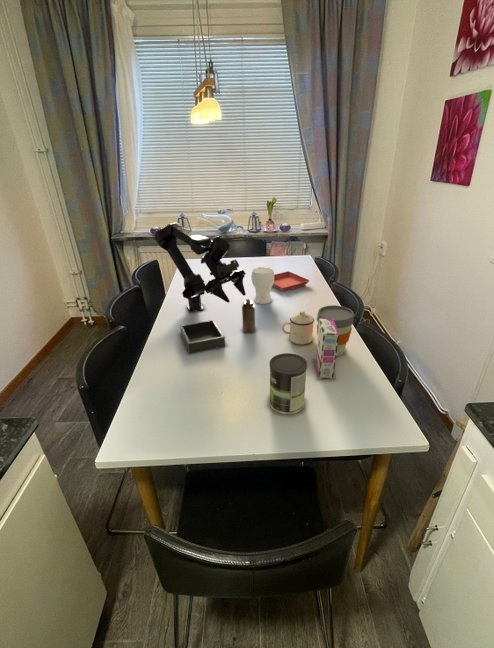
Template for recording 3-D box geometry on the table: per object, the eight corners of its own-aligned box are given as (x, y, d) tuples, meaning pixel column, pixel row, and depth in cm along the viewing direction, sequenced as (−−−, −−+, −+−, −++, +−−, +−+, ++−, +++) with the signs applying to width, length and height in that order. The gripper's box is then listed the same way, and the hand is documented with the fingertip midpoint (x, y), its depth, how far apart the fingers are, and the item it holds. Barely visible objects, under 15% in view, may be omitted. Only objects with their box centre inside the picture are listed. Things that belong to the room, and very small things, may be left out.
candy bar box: (334, 379, 112) (339, 334, 103) (318, 379, 112) (322, 334, 103) (329, 360, 121) (334, 317, 113) (314, 360, 122) (318, 317, 113)
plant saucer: (309, 286, 182) (310, 279, 181) (282, 293, 174) (282, 287, 172) (288, 276, 195) (288, 270, 194) (261, 283, 187) (261, 277, 185)
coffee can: (271, 416, 98) (271, 374, 90) (267, 393, 106) (267, 354, 99) (307, 413, 98) (311, 372, 91) (300, 391, 107) (303, 351, 100)
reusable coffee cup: (307, 345, 130) (310, 308, 122) (336, 338, 134) (340, 302, 126) (326, 362, 120) (330, 323, 113) (356, 354, 125) (362, 316, 117)
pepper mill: (241, 328, 143) (239, 297, 136) (252, 326, 144) (251, 295, 137) (245, 333, 139) (244, 302, 132) (256, 331, 140) (256, 300, 133)
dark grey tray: (181, 334, 139) (180, 325, 137) (214, 328, 143) (213, 319, 141) (189, 353, 127) (188, 344, 125) (225, 346, 131) (224, 336, 129)
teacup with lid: (311, 333, 138) (313, 306, 132) (314, 344, 131) (316, 316, 125) (280, 333, 138) (281, 306, 132) (282, 345, 131) (283, 317, 125)
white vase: (272, 305, 162) (272, 274, 154) (249, 304, 163) (248, 273, 156) (275, 297, 170) (276, 267, 163) (254, 295, 172) (253, 266, 164)
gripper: (206, 259, 127) (229, 295, 127) (241, 248, 139) (262, 281, 138) (194, 276, 135) (216, 309, 135) (228, 264, 147) (248, 295, 147)
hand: (237, 298), depth 139 cm, fingers open, 9 cm apart
